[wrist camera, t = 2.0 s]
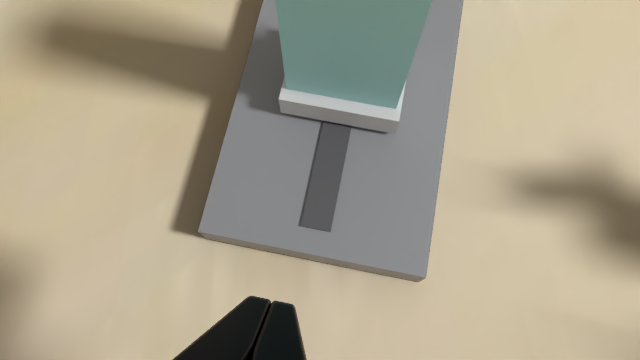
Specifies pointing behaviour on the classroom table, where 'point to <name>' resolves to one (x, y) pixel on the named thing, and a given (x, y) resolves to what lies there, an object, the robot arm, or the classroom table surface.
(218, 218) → the fader board
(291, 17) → the fader lever
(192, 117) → the classroom table surface
